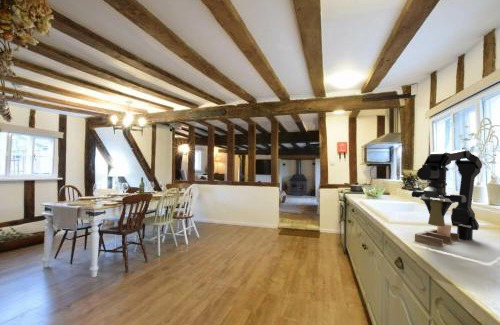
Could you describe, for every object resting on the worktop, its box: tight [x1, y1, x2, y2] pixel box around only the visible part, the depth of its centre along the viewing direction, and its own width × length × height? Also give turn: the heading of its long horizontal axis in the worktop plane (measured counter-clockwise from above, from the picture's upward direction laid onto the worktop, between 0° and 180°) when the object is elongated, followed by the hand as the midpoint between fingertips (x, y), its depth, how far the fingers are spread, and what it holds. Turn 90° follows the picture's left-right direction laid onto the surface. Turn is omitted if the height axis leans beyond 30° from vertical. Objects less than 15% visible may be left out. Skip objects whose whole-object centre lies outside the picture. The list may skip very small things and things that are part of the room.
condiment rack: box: [414, 228, 460, 248], centre depth 113 cm, size 20×10×4 cm, turn 124°
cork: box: [427, 199, 446, 227], centre depth 109 cm, size 6×6×11 cm
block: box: [436, 223, 452, 236], centre depth 115 cm, size 5×5×7 cm
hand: (436, 215), depth 109 cm, fingers closed on cork, 4 cm apart
